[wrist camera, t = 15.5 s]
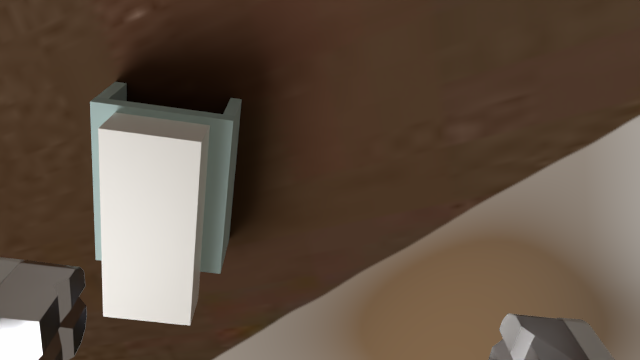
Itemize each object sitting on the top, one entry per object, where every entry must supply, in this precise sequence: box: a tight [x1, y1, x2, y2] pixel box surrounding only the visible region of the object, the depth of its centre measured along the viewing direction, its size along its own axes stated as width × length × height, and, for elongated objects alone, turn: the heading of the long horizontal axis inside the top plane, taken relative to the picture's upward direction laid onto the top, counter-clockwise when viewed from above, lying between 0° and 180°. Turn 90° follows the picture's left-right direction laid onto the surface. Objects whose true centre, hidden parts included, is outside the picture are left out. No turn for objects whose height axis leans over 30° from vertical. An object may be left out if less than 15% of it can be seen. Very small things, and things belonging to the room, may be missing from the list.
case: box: [90, 82, 242, 274], centre depth 38 cm, size 9×12×5 cm
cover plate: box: [98, 112, 210, 325], centre depth 35 cm, size 6×14×3 cm, turn 171°
